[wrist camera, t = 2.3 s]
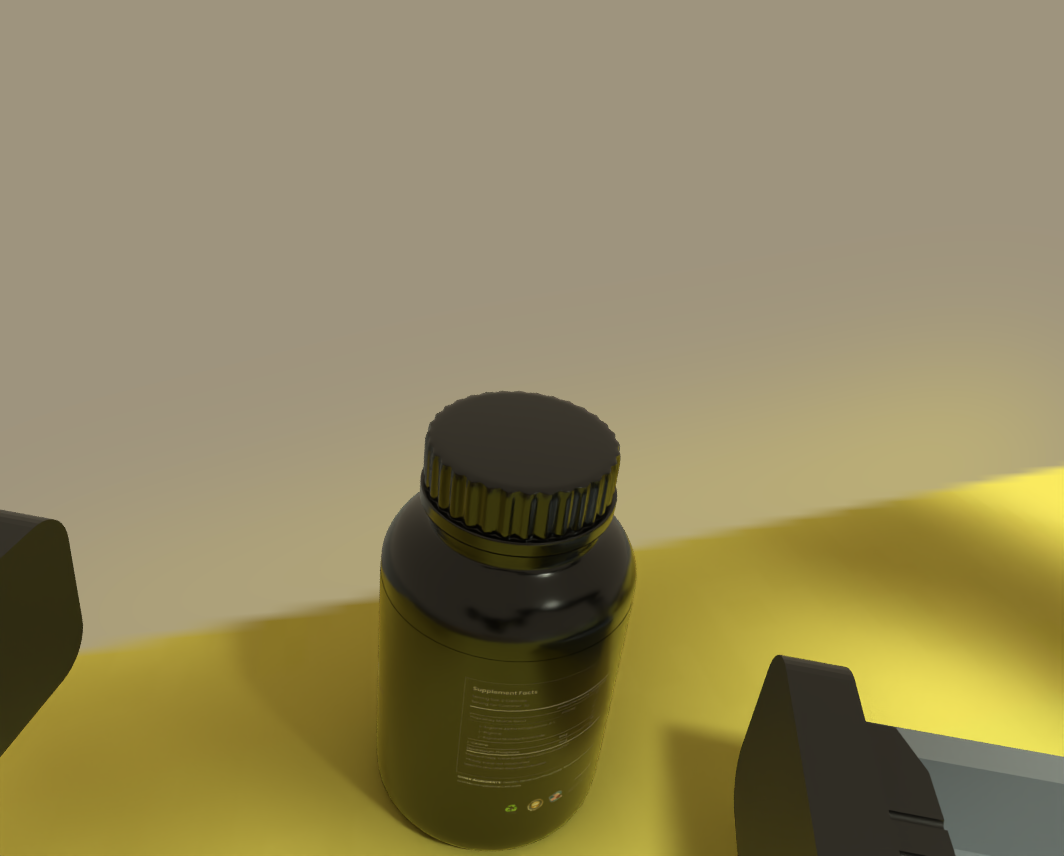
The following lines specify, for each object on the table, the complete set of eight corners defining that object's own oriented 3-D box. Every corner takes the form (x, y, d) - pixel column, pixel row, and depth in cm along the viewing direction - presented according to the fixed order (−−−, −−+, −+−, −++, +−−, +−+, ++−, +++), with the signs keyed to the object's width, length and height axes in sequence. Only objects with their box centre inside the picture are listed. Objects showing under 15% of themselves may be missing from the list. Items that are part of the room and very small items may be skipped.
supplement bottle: (351, 706, 29) (353, 381, 23) (540, 660, 32) (587, 359, 26) (411, 896, 24) (435, 538, 18) (633, 823, 26) (719, 490, 20)
